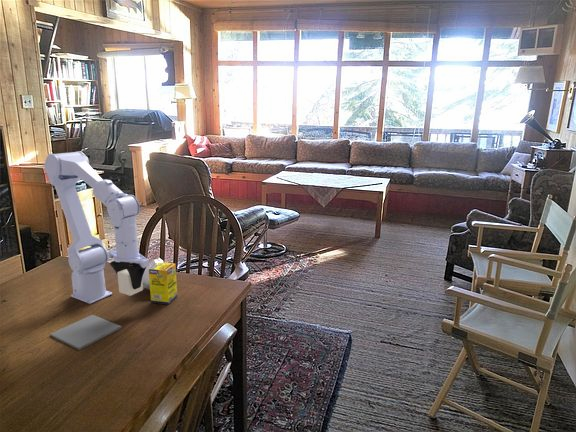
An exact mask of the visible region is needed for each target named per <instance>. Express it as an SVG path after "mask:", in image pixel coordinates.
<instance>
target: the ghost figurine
mask: <svg viewBox="0 0 576 432" xmlns="http://www.w3.org/2000/svg"><path fill="white" fill-rule="evenodd" d="M158 262H164V263H165V261H164V260H163V259H161V258H155V259H153V260H152V262H149V266H148V267H146V269H145V271H144V274H143V277H142V283H143V288H145V289H146V290H149V291H150V281H149V268H151V267H152V266H154V265H156V264H157V263H158Z"/></svg>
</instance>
